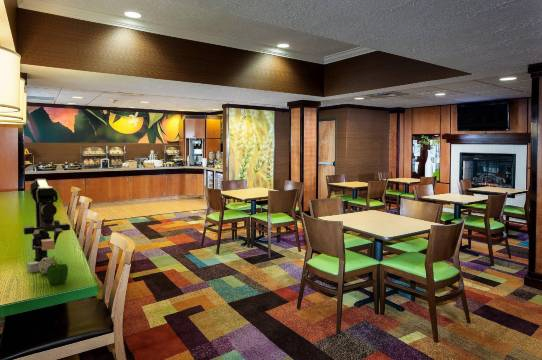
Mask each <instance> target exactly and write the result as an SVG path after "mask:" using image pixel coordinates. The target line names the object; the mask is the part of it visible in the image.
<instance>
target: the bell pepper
mask: <svg viewBox="0 0 542 360" xmlns="http://www.w3.org/2000/svg"><path fill="white" fill-rule="evenodd" d="M51 264H52V265H50V266H49V267H48V269H47V273H46V276H47V280H48V282H49V284H50V285H52V286H55V285H59V284H64V283H65V282H66V281H67V277H68V274H69V268H68V265H67V264H66V263H65V264H61V263H58V262H56V261H55V262H52V263H51ZM53 264H55V265H53Z"/></svg>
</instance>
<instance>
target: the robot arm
mask: <svg viewBox="0 0 542 360" xmlns="http://www.w3.org/2000/svg"><path fill="white" fill-rule="evenodd" d="M29 195H31V198H32V200H33V201H34V203H35V226H34V225H30V226H24V227H23V234H24V235H32V238H31V241H30V242H31V246H30V247H31V250H32V251H34V257H33V260H34V261H33V262H35V261H37V262H40V261H41V260H42V259H43V256H44V258H50V257H49V255H48V250H42V249H41V247H42V242H41V240H45V239H52V238H51V236H50V233H49V232H51V233H52V232H53V239H54V243H55V245H56V243H57V241H58V238H59V235H60V234H62V233H63V232H64V231H70V230H71V225H70V224H69V222H64V223H63V222H62V223H60V220H59V219H56V220H55V215H56V214H57V212H58V207H56V205H54V204H55V203H57V202H58V200H59V196H58V192H57V190H56V189H55V188H54V187H53V186H51V185H50V183H49V182H48V179H46V178H36V179H34V182H32V183H30V186H29Z"/></svg>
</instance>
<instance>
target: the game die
mask: <svg viewBox="0 0 542 360" xmlns="http://www.w3.org/2000/svg"><path fill="white" fill-rule="evenodd" d="M38 262H39V263H38V264H36V265H37V266H38V268H39V269H40V271H39V272H40V274H39V275H42V274H47V269H48V267H49V266H50V265H52V264H51V263H52V262H56V260H55V256H52V257H49V258H44V256H43V259H42V260H41V261H38ZM53 265H55V264H53Z"/></svg>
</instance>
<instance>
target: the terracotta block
mask: <svg viewBox="0 0 542 360" xmlns="http://www.w3.org/2000/svg"><path fill="white" fill-rule="evenodd" d="M41 242H42V247H41V249H42V250H47V251H49V250H55V249H56V248H55V247H56V244H55V243H54V238H51V239H45V240H41Z"/></svg>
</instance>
